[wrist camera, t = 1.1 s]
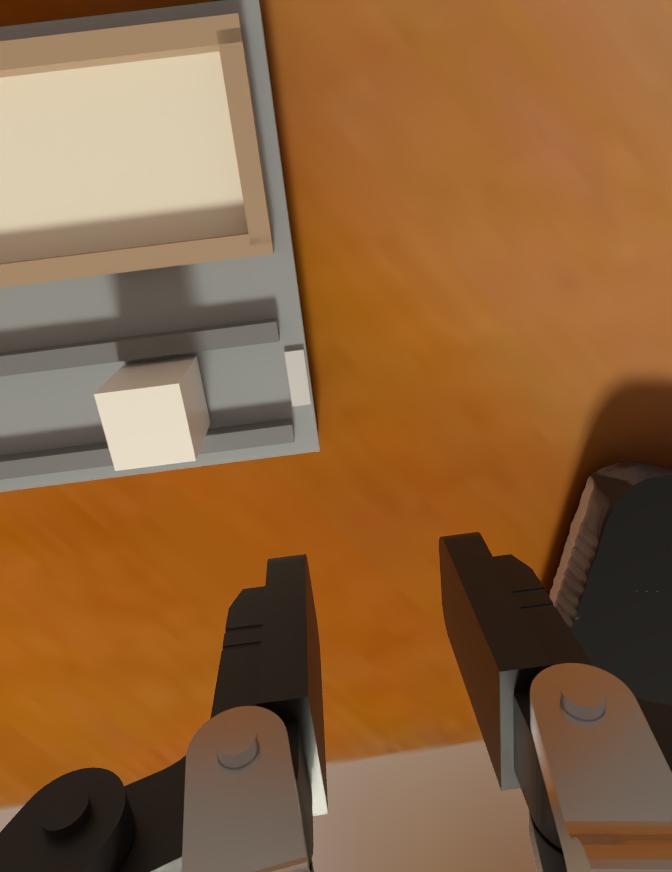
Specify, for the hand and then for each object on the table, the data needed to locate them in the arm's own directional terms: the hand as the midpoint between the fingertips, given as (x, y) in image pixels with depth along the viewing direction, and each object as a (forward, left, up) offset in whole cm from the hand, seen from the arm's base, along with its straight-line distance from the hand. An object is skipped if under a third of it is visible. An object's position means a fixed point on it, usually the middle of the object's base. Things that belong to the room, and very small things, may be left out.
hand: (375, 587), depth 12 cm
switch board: (+10, -5, -17) cm, 21 cm away
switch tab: (+7, 0, -15) cm, 17 cm away
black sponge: (-14, +14, -18) cm, 27 cm away
